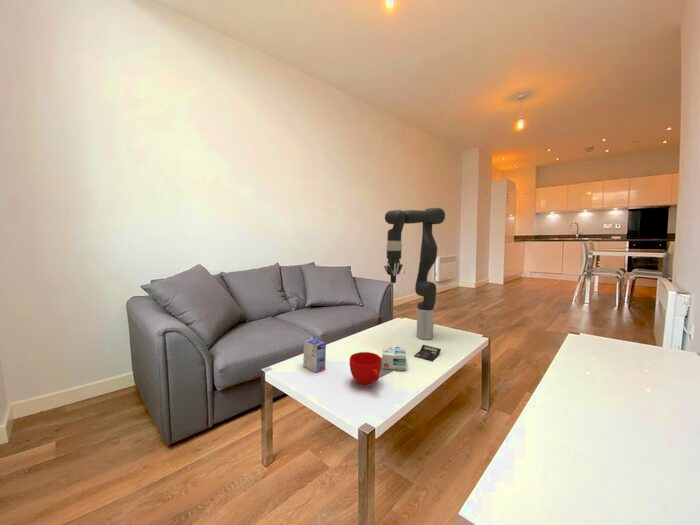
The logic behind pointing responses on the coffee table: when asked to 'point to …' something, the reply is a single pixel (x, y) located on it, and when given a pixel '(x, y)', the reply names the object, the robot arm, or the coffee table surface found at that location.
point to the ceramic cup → (365, 367)
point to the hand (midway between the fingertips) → (393, 282)
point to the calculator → (428, 353)
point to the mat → (384, 370)
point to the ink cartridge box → (314, 354)
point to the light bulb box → (394, 358)
